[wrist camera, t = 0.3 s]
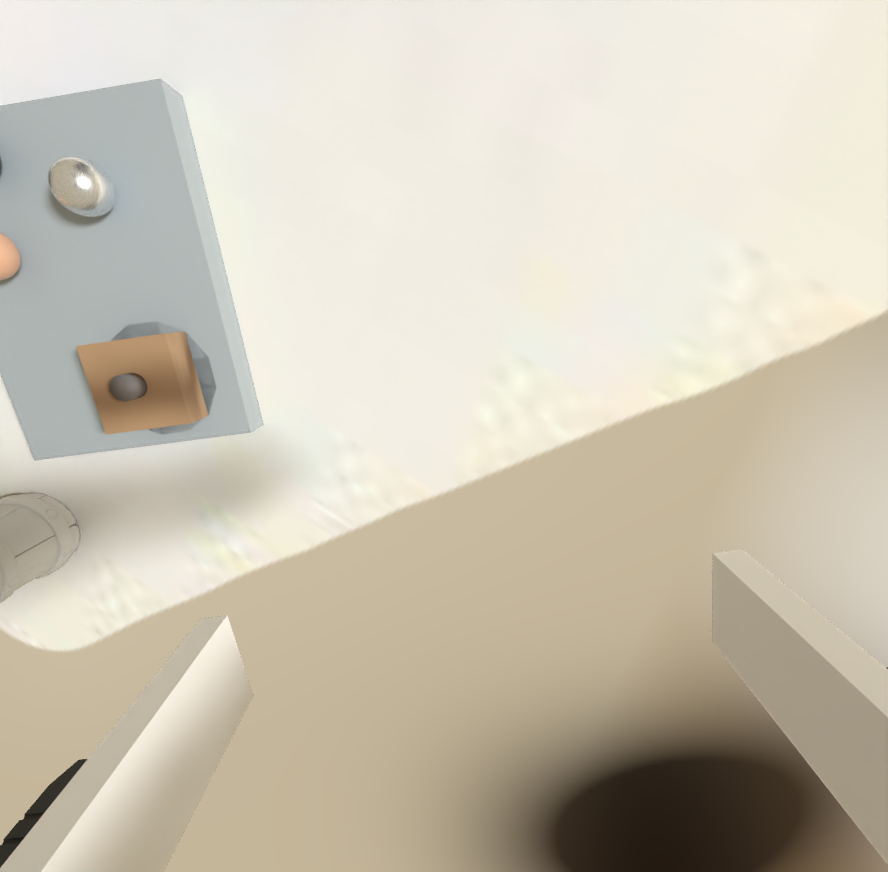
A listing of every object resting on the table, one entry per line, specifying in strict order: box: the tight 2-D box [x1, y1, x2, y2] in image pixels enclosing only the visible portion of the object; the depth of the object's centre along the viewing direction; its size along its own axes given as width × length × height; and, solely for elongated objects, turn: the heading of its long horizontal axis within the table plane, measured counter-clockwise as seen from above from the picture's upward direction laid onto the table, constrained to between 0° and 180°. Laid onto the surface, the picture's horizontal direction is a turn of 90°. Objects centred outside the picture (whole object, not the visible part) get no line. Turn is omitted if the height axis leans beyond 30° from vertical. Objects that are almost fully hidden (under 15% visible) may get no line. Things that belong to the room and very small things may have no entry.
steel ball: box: [48, 156, 116, 217], centre depth 30 cm, size 4×4×4 cm
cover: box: [76, 332, 208, 435], centre depth 33 cm, size 6×6×4 cm
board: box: [0, 79, 263, 460], centre depth 35 cm, size 24×18×2 cm
